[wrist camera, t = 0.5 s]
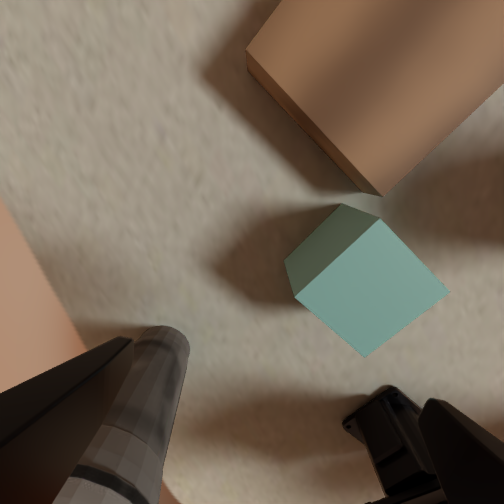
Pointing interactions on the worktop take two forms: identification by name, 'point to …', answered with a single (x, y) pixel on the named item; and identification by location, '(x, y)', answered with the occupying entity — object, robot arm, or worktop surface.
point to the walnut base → (380, 76)
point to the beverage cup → (134, 428)
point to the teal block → (361, 279)
